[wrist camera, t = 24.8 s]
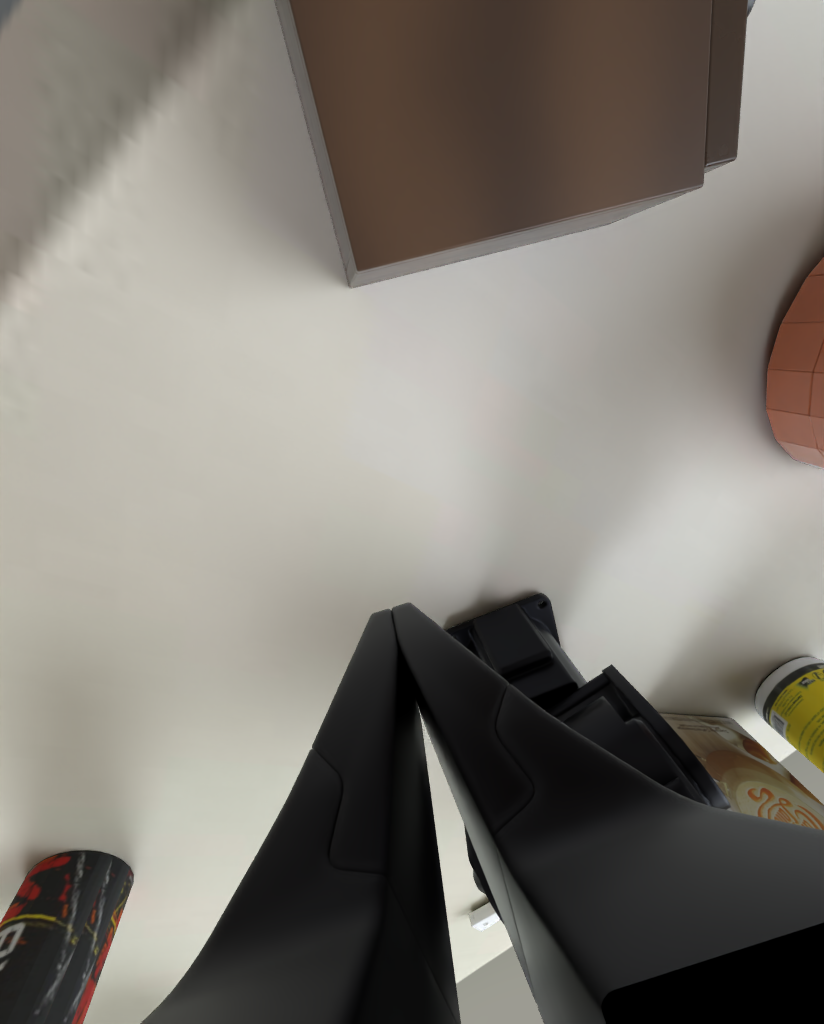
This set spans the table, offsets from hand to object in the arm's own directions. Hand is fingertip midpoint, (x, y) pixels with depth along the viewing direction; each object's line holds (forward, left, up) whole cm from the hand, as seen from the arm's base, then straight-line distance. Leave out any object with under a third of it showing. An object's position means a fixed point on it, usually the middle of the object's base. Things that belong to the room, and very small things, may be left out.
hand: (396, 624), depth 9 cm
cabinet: (+11, -8, -12) cm, 19 cm away
